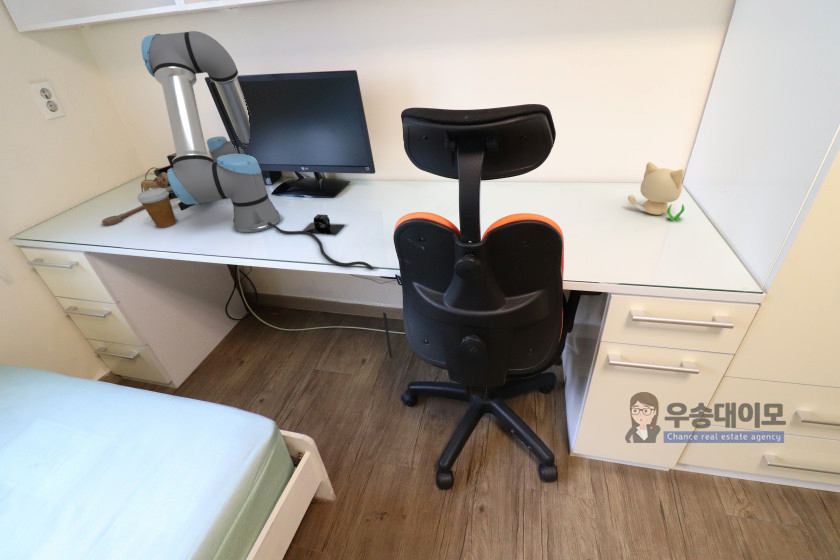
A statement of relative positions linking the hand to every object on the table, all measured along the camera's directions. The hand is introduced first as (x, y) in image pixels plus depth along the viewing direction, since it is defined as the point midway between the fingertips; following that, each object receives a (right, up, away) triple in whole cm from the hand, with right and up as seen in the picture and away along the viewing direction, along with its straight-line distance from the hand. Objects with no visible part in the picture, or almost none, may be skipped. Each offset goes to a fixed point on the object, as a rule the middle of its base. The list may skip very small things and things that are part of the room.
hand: (166, 205), depth 141 cm
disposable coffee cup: (-1, -7, +1) cm, 7 cm away
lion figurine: (-21, +10, +29) cm, 37 cm away
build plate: (+60, -10, -12) cm, 62 cm away
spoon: (-21, 0, +13) cm, 25 cm away
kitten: (+165, -6, -19) cm, 166 cm away
